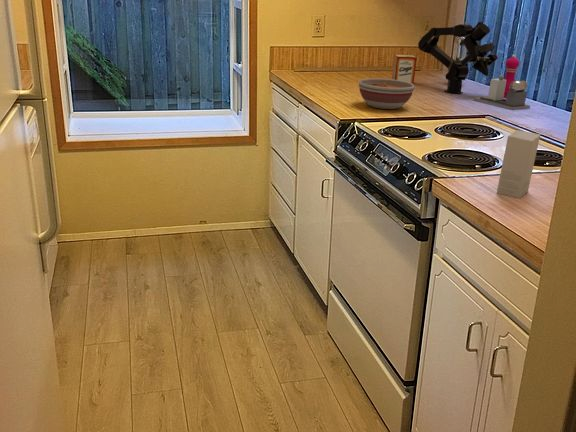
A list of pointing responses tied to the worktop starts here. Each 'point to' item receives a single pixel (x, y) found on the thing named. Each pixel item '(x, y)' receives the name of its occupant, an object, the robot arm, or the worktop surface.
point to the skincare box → (518, 163)
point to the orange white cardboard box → (404, 68)
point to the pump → (497, 88)
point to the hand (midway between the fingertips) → (487, 75)
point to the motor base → (510, 97)
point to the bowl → (385, 92)
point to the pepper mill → (510, 72)
